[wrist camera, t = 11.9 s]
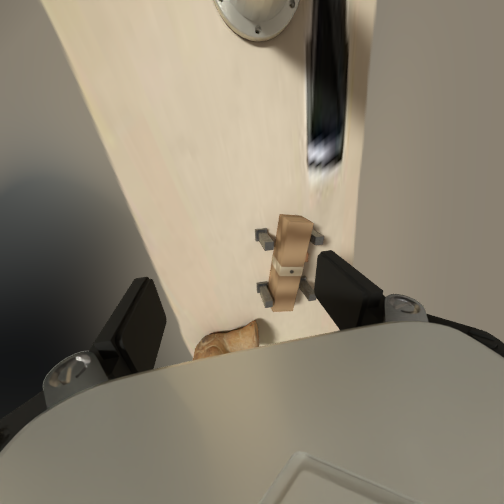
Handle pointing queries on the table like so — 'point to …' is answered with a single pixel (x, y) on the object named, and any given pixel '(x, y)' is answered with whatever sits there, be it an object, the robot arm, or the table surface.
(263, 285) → the pair of grey posts
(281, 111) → the table surface
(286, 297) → the tan plank with band
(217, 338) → the pipe
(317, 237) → the gray u-shaped bracket
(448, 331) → the robot arm
